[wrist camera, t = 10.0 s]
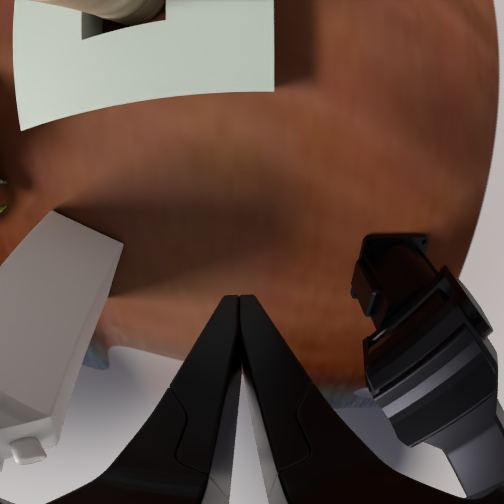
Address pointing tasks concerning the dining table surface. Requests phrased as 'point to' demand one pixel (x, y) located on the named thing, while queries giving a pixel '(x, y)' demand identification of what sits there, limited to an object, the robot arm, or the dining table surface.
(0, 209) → the passion flower
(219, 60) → the board
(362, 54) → the dining table surface
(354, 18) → the dining table surface
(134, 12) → the peg
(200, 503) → the robot arm
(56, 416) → the milk carton
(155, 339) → the dining table surface
